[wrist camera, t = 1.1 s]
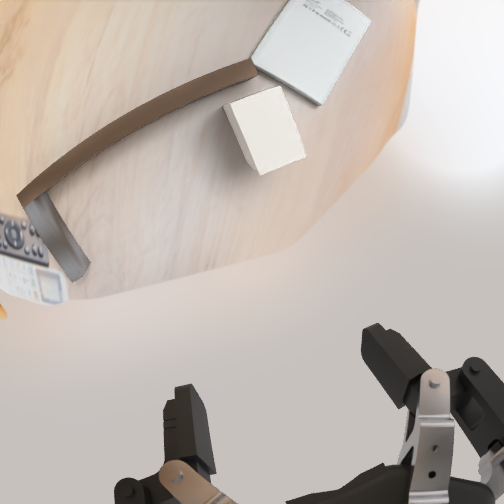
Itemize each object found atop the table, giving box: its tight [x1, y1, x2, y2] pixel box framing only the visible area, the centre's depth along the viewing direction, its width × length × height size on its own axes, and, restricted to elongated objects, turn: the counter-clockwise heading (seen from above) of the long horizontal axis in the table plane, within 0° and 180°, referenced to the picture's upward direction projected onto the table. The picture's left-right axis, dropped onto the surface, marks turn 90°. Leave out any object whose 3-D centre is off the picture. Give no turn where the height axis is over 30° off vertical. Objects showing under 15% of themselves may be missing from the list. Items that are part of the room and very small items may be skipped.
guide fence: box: [16, 58, 259, 283], centre depth 23 cm, size 11×25×3 cm, turn 112°
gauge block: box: [223, 86, 307, 176], centre depth 22 cm, size 6×4×6 cm, turn 22°
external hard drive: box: [251, 0, 371, 106], centre depth 21 cm, size 2×8×12 cm
